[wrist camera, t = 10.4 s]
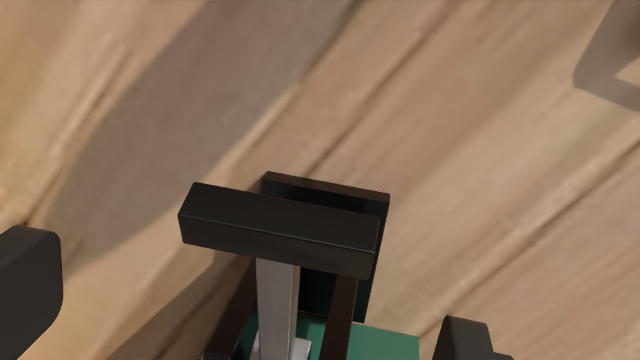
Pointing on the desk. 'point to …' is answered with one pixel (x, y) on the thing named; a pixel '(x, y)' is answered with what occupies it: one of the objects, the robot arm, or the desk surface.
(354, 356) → the toaster
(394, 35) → the desk surface
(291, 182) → the black lever stand
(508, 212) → the desk surface
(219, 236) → the lever
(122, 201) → the desk surface
